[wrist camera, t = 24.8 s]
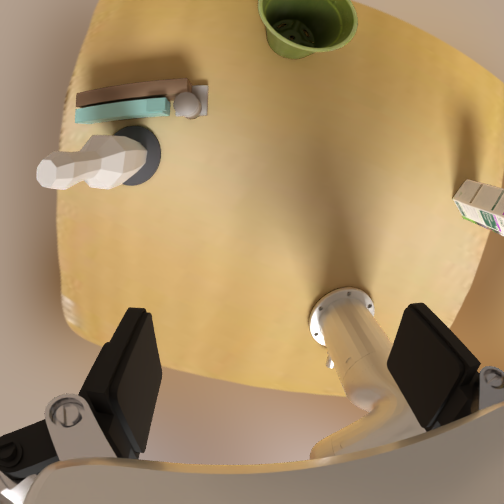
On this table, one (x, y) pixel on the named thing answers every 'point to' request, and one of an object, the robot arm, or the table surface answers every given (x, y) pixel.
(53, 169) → the white bottle
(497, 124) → the table surface
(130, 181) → the dark grey disc
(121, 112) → the bar
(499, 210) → the syrup box
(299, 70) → the table surface
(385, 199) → the table surface
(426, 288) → the table surface
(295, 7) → the plant pot
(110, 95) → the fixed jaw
